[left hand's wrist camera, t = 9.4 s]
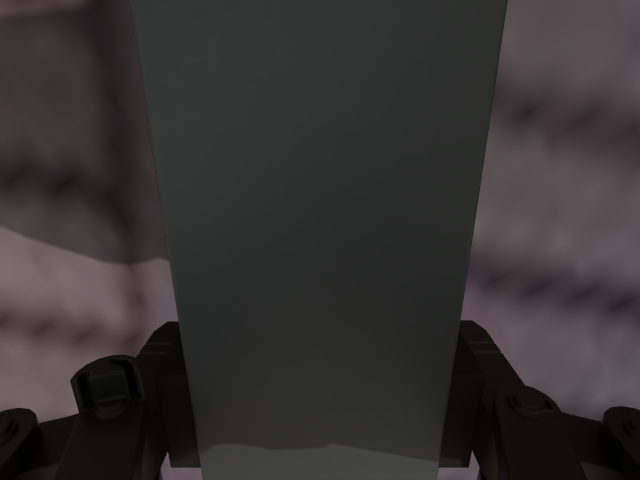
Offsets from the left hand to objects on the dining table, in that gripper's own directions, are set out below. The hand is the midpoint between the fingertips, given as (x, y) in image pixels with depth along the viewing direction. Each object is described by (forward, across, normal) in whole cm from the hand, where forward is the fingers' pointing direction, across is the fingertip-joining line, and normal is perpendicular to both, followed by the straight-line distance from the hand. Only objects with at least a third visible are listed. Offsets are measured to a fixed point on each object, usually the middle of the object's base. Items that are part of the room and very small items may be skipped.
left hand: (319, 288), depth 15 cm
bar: (+1, 0, -19) cm, 19 cm away
